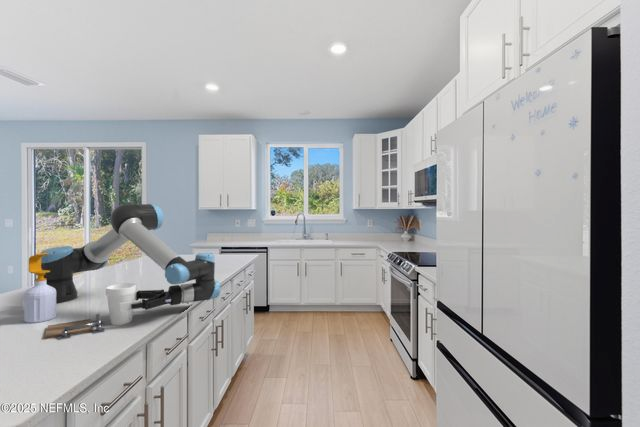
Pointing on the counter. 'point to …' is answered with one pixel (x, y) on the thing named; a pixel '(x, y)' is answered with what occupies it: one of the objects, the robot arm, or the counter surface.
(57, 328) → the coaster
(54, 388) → the counter surface
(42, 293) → the soap bottle
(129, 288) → the foam cup
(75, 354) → the counter surface
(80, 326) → the rail
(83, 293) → the counter surface
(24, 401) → the counter surface
